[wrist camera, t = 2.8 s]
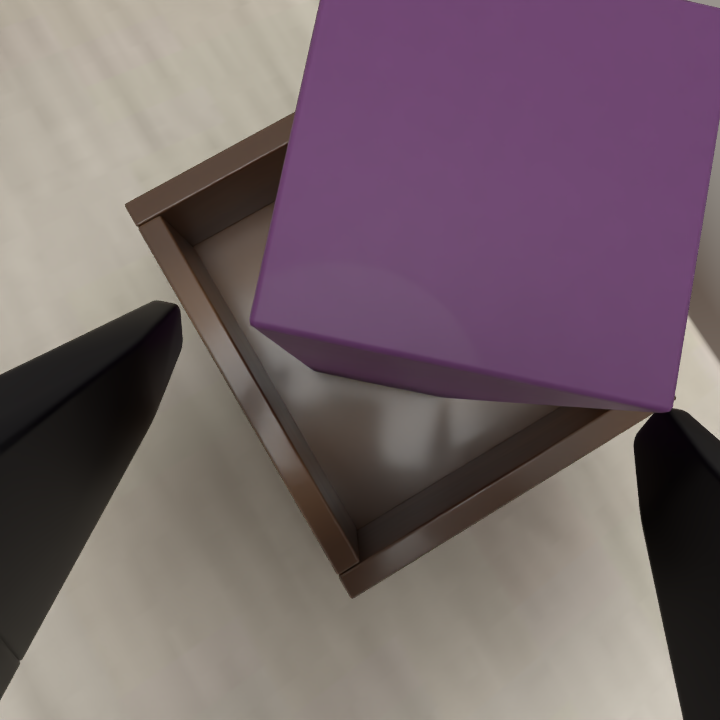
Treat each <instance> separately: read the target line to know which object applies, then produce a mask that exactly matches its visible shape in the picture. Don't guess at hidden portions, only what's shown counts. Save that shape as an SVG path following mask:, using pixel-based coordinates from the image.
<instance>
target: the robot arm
mask: <svg viewBox="0 0 720 720" xmlns="http://www.w3.org/2000/svg"><path fill="white" fill-rule="evenodd" d="M182 342H183V337H182V325H181V313H180V309H179V307H178V306H177V305H176V304H173V303H168V302H164V301H157V300H156V301H152V302H150V303H148V304H146V305H144V306H142V307H140V308H138V309H136V310H133V311H131V312H129V313H127V314H125V315H123V316H121V317H119V318H117V319H115V320H113V321H111V322H109V323H107V324H105V325H102V326H100V327H98V328H96V329H94V330H92V331H90V332H88V333H86V334H84V335H82V336H80V337H78V338H76V339H73V340H71V341H69V342H67V343H65V344H63V345H61V346H59V347H57V348H55V349H53V350H51V351H49V352H47V353H44V354H42V355H40V356H38V357H36V358H34V359H32V360H30V361H28V362H26V363H24V364H22V365H20V366H18V367H15V368H13V369H11V370H9V371H7V372H5V373H3V374H1V375H0V700H1V698H2V696H3V694H4V692H5V690H6V689H7V687H8V685H9V683H10V681H11V680H12V678H13V676H14V674H15V672H16V670H17V669H18V667H19V665H20V660H22V659H23V657H24V655H25V653H26V652H27V650H28V648H29V646H30V644H31V642H32V641H33V639H34V637H35V635H36V633H37V632H38V630H39V628H40V626H41V624H42V622H43V621H44V619H45V617H46V615H47V613H48V611H49V610H50V608H51V606H52V604H53V602H54V601H55V599H56V597H57V595H58V593H59V591H60V590H61V588H62V586H63V584H64V582H65V580H66V579H67V577H68V575H69V573H70V571H71V570H72V568H73V566H74V564H75V562H76V560H77V559H78V557H79V555H80V553H81V551H82V549H83V548H84V546H85V544H86V542H87V540H88V539H89V537H90V535H91V533H92V531H93V529H94V528H95V526H96V524H97V522H98V520H99V518H100V517H101V515H102V513H103V511H104V509H105V508H106V506H107V504H108V502H109V500H110V498H111V497H112V495H113V493H114V491H115V489H116V487H117V486H118V484H119V482H120V480H121V478H122V477H123V475H124V473H125V471H126V469H127V467H128V466H129V464H130V462H131V460H132V458H133V456H134V455H135V453H136V451H137V449H138V447H139V446H140V444H141V442H142V440H143V438H144V436H145V435H146V433H147V431H148V429H149V427H150V425H151V423H152V421H153V419H154V417H155V414H156V412H157V410H158V407H159V405H160V402H161V400H162V397H163V395H164V392H165V390H166V387H167V385H168V382H169V380H170V377H171V375H172V372H173V369H174V367H175V364H176V362H177V359H178V357H179V354H180V352H181V348H182ZM634 455H635V466H636V476H637V487H638V497H639V508H640V515H641V522H642V527H643V532H644V537H645V542H646V547H647V551H648V556H649V561H650V565H651V570H652V575H653V580H654V584H655V589H656V594H657V598H658V603H659V608H660V612H661V617H662V622H663V627H664V631H665V636H666V641H667V645H668V650H669V655H670V659H671V664H672V669H673V674H674V678H675V683H676V688H677V692H678V697H679V702H680V707H681V711H682V716H683V720H720V441H719V440H718V439H717V438H716V437H715V436H714V435H713V434H711V433H710V432H709V431H708V430H707V429H706V428H705V427H703V426H702V425H701V424H700V423H699V422H698V421H697V420H695V419H694V418H693V417H692V416H691V415H690V414H689V413H687V412H685V411H683V410H679V409H675V408H672V409H671V411H669V412H666V413H655V412H654V414H653V415H652V416H651V417H650V418H649V420H648V421H647V422H646V423H645V424H644V425H643V427H642V428H641V429H640V430H639V431H638V433H637V434H636V437H635V440H634Z"/></svg>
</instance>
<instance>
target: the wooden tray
mask: <svg viewBox="0 0 720 720" xmlns="http://www.w3.org/2000/svg"><path fill="white" fill-rule="evenodd" d="M294 115H295V112H294V113H292V114H290V115H288V116H286V117H285V118H283V119H281V120H279V121H277V122H275V123H274V124H272V125H270V126H268V127H266V128H264V129H263V130H261V131H259V132H257V133H255V134H253V135H251V136H250V137H248V138H246V139H244V140H242V141H240V142H239V143H237V144H235V145H233V146H231V147H229V148H228V149H226V150H224V151H222V152H220V153H218V154H216V155H215V156H213V157H211V158H209V159H207V160H205V161H204V162H202V163H200V164H198V165H196V166H194V167H193V168H191V169H189V170H187V171H185V172H183V173H181V174H180V175H178V176H176V177H174V178H172V179H170V180H169V181H167V182H165V183H163V184H161V185H159V186H158V187H156V188H154V189H152V190H150V191H148V192H146V193H145V194H143V195H141V196H139V197H137V198H135V199H134V200H132V201H130V202H128V203H126V204H125V207H126V209H127V211H128V212H129V214H130V216H131V217H132V219H133V221H134V223H135V224H136V226H137V227H139V231H140V233H141V235H142V236H143V238H144V240H145V242H146V243H147V245H148V247H149V249H150V250H151V252H152V254H153V255H154V257H155V259H156V261H157V262H158V264H159V266H160V268H161V269H162V271H163V273H164V275H165V276H166V278H167V280H168V282H169V283H170V285H171V287H172V289H173V290H174V292H175V294H176V295H177V297H178V299H179V301H180V302H181V304H182V306H183V308H184V309H185V311H186V313H187V315H188V316H189V318H190V320H191V322H192V323H193V325H194V327H195V328H196V330H197V332H198V334H199V335H200V337H201V339H202V341H203V342H204V344H205V346H206V348H207V349H208V351H209V353H210V355H211V356H212V358H213V360H214V362H215V363H216V365H217V367H218V368H219V370H220V372H221V374H222V375H223V377H224V379H225V381H226V382H227V384H228V386H229V388H230V389H231V391H232V393H233V395H234V396H235V398H236V400H237V401H238V403H239V405H240V407H241V408H242V410H243V412H244V414H245V415H246V417H247V419H248V421H249V422H250V424H251V426H252V428H253V429H254V431H255V433H256V435H257V436H258V438H259V440H260V441H261V443H262V445H263V447H264V448H265V450H266V452H267V454H268V455H269V457H270V459H271V461H272V462H273V464H274V466H275V468H276V469H277V471H278V473H279V475H280V476H281V478H282V480H283V481H284V483H285V485H286V487H287V488H288V490H289V492H290V494H291V495H292V497H293V499H294V501H295V502H296V504H297V506H298V508H299V509H300V511H301V513H302V514H303V516H304V518H305V520H306V521H307V523H308V525H309V527H310V528H311V530H312V532H313V534H314V535H315V537H316V539H317V541H318V542H319V544H320V546H321V548H322V549H323V551H324V553H325V554H326V556H327V558H328V560H329V561H330V563H331V565H332V567H333V568H334V570H335V572H336V573H337V574H338V575H339V579H340V581H341V582H342V584H343V586H344V588H345V589H346V591H347V593H348V595H349V596H350V598H352V599H353V598H355V597H357V596H358V595H360V594H362V593H363V592H365V591H366V590H368V589H370V588H371V587H373V586H375V585H376V584H378V583H379V582H381V581H383V580H384V579H386V578H387V577H389V576H391V575H392V574H394V573H396V572H397V571H399V570H400V569H402V568H404V567H405V566H407V565H409V564H410V563H412V562H413V561H415V560H417V559H418V558H420V557H421V556H423V555H425V554H426V553H428V552H430V551H431V550H433V549H434V548H436V547H438V546H439V545H441V544H443V543H444V542H446V541H447V540H449V539H451V538H452V537H454V536H456V535H457V534H459V533H460V532H462V531H464V530H465V529H467V528H468V527H470V526H472V525H473V524H475V523H477V522H478V521H480V520H481V519H483V518H485V517H486V516H488V515H490V514H491V513H493V512H494V511H496V510H498V509H499V508H501V507H503V506H504V505H506V504H507V503H509V502H511V501H512V500H514V499H515V498H517V497H519V496H520V495H522V494H524V493H525V492H527V491H528V490H530V489H532V488H533V487H535V486H537V485H538V484H540V483H541V482H543V481H545V480H546V479H548V478H549V477H551V476H553V475H554V474H556V473H558V472H559V471H561V470H562V469H564V468H566V467H567V466H569V465H571V464H572V463H574V462H575V461H577V460H579V459H580V458H582V457H584V456H585V455H587V454H588V453H590V452H592V451H593V450H595V449H596V448H598V447H600V446H601V445H603V444H605V443H606V442H608V441H609V440H611V439H613V438H614V437H616V436H618V435H619V434H621V433H622V432H624V431H626V430H627V429H629V428H631V427H632V426H634V425H635V424H637V423H639V422H640V421H642V420H643V419H645V418H647V417H648V416H650V415H652V414H653V413H654V412H640V411H626V410H612V409H597V408H583V407H569V406H554V405H540V404H526V403H511V402H497V401H482V400H468V399H454V398H442V397H437V396H432V395H427V394H422V393H417V392H412V391H408V390H403V389H398V388H393V387H388V386H383V385H379V384H374V383H369V382H364V381H359V380H354V379H350V378H345V377H340V376H335V375H330V374H325V373H320V372H316V371H313V370H312V369H310V368H309V367H308V366H306V365H305V364H304V363H302V362H301V361H299V360H298V359H297V358H295V357H294V356H292V355H291V354H290V353H288V352H287V351H286V350H284V349H283V348H281V347H280V346H279V345H277V344H276V343H275V342H273V341H272V340H270V339H269V338H268V337H266V336H265V335H263V334H262V333H261V332H259V331H258V330H257V329H255V328H254V327H252V326H251V325H250V321H249V318H250V313H251V309H252V304H253V300H254V295H255V291H256V286H257V282H258V277H259V273H260V268H261V264H262V259H263V255H264V250H265V246H266V241H267V237H268V232H269V228H270V223H271V219H272V214H273V210H274V205H275V201H276V196H277V192H278V187H279V183H280V178H281V173H282V169H283V164H284V160H285V155H286V151H287V146H288V142H289V137H290V133H291V128H292V124H293V119H294ZM675 399H676V397H675V396H674V400H675Z"/></svg>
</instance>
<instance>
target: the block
mask: <svg viewBox="0 0 720 720" xmlns="http://www.w3.org/2000/svg"><path fill="white" fill-rule="evenodd" d="M719 120H720V8H717V7H712V6H708V5H704V4H699V3H695V2H691V1H686V0H320V2H319V7H318V11H317V16H316V20H315V25H314V29H313V34H312V38H311V43H310V47H309V52H308V56H307V61H306V65H305V70H304V74H303V79H302V83H301V88H300V92H299V97H298V101H297V106H296V110H295V115H294V119H293V124H292V128H291V133H290V137H289V142H288V146H287V151H286V155H285V160H284V164H283V169H282V173H281V178H280V183H279V187H278V192H277V196H276V201H275V205H274V210H273V214H272V219H271V223H270V228H269V232H268V237H267V241H266V246H265V250H264V255H263V259H262V264H261V268H260V273H259V277H258V282H257V286H256V291H255V295H254V300H253V304H252V309H251V313H250V318H249V321H250V325H251V326H252V327H254V328H255V329H257V330H258V331H259V332H261V333H262V334H263V335H265V336H266V337H268V338H269V339H270V340H272V341H273V342H275V343H276V344H277V345H279V346H280V347H281V348H283V349H284V350H286V351H287V352H288V353H290V354H291V355H292V356H294V357H295V358H297V359H298V360H299V361H301V362H302V363H304V364H305V365H306V366H308V367H309V368H310V369H312V370H313V371H316V372H320V373H325V374H330V375H335V376H340V377H345V378H350V379H354V380H359V381H364V382H369V383H374V384H379V385H383V386H388V387H393V388H398V389H403V390H408V391H412V392H417V393H422V394H427V395H432V396H437V397H442V398H454V399H468V400H482V401H497V402H511V403H526V404H540V405H554V406H569V407H583V408H597V409H612V410H626V411H640V412H655V413H666V412H669V411H671V409H672V407H673V402H674V396H675V390H676V384H677V378H678V372H679V365H680V359H681V353H682V347H683V341H684V335H685V329H686V322H687V316H688V310H689V304H690V297H691V291H692V286H693V279H694V273H695V267H696V261H697V255H698V249H699V242H700V236H701V230H702V223H703V217H704V212H705V206H706V200H707V193H708V187H709V181H710V175H711V169H712V162H713V156H714V150H715V144H716V138H717V131H718V125H719Z"/></svg>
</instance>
